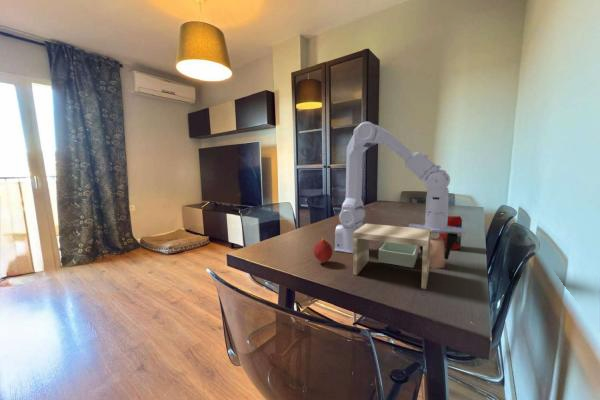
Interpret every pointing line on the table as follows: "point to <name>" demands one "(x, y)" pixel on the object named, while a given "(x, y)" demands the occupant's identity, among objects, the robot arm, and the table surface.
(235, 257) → the table surface
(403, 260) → the tray
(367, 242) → the shelf
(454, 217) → the beverage can
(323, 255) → the onion
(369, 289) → the table surface
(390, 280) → the table surface
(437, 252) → the pink-tan solid cylinder
